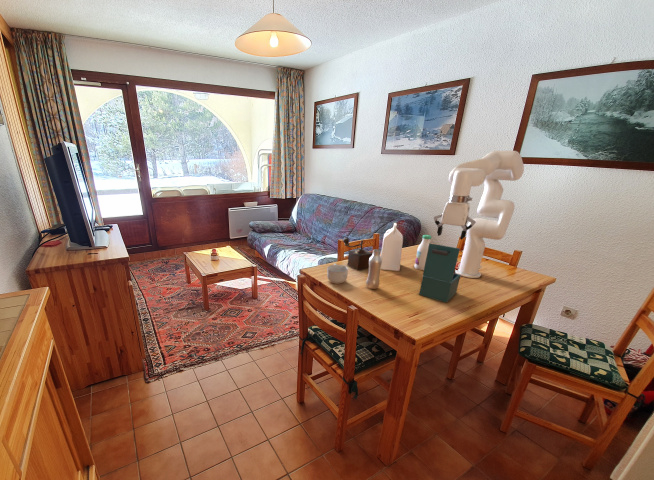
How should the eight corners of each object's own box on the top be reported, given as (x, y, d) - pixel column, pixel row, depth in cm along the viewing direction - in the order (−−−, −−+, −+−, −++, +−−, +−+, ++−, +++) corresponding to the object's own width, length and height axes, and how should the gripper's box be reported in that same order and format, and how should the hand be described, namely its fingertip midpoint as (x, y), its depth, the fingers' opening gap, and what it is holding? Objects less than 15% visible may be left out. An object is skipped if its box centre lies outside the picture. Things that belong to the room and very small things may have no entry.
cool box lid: (429, 243, 141) (425, 245, 137) (460, 248, 133) (456, 250, 129) (423, 275, 147) (418, 277, 143) (451, 282, 139) (448, 285, 135)
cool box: (429, 285, 160) (433, 268, 156) (456, 293, 152) (460, 274, 148) (419, 294, 150) (422, 276, 147) (446, 302, 142) (451, 283, 139)
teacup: (346, 286, 160) (348, 271, 157) (325, 284, 162) (326, 270, 159) (346, 276, 172) (348, 263, 169) (327, 275, 174) (328, 261, 171)
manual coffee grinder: (360, 262, 194) (363, 234, 187) (371, 268, 185) (375, 238, 178) (339, 266, 188) (341, 237, 181) (350, 272, 179) (353, 241, 172)
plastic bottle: (378, 286, 160) (384, 249, 152) (378, 291, 154) (383, 253, 146) (366, 284, 162) (370, 247, 154) (365, 289, 156) (369, 251, 148)
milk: (399, 270, 180) (406, 227, 170) (378, 268, 184) (384, 225, 174) (399, 264, 191) (405, 222, 181) (379, 262, 194) (385, 221, 184)
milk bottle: (429, 267, 186) (435, 235, 178) (426, 271, 180) (433, 237, 172) (415, 265, 190) (421, 233, 182) (412, 268, 184) (418, 236, 176)
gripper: (483, 200, 133) (473, 238, 140) (440, 196, 144) (433, 232, 151) (478, 202, 128) (469, 242, 135) (435, 198, 139) (428, 235, 146)
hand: (450, 237), depth 143 cm, fingers open, 9 cm apart
